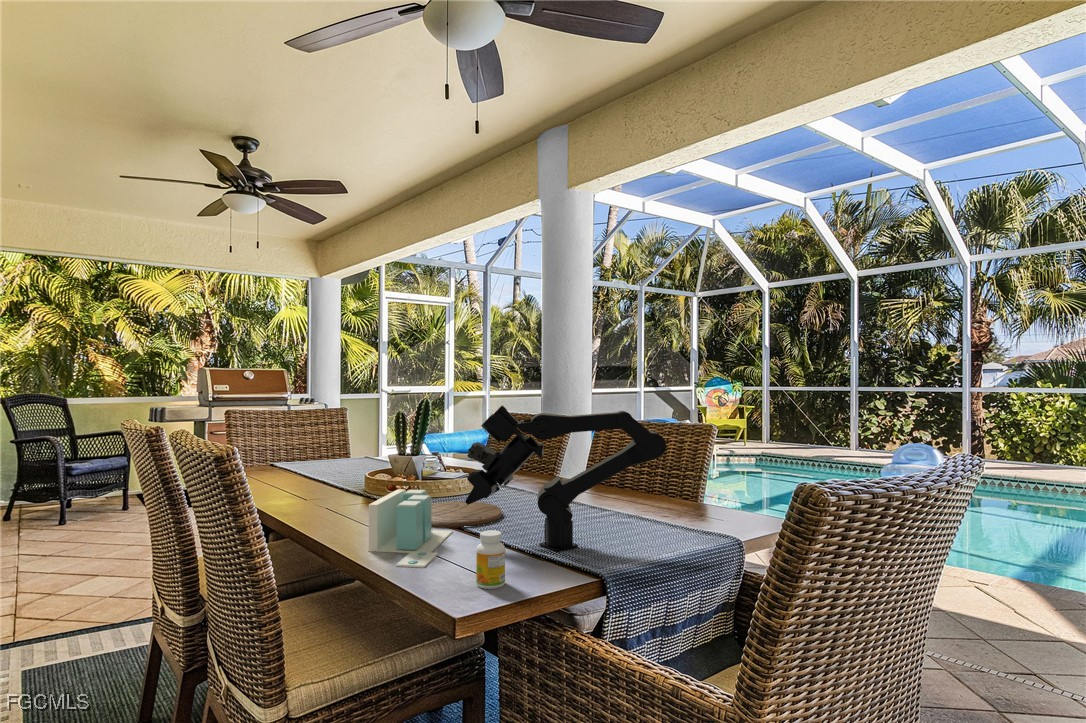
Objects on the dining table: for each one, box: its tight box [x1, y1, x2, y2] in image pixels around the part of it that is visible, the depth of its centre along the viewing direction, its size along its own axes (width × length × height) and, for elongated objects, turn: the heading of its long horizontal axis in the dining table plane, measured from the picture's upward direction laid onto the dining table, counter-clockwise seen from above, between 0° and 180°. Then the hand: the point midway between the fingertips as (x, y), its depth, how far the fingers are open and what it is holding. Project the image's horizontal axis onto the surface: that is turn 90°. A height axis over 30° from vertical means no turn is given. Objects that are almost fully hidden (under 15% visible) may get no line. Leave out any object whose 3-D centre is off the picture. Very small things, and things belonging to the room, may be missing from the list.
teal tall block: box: [396, 501, 423, 550], centre depth 143 cm, size 4×4×10 cm
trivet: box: [431, 501, 503, 529], centre depth 175 cm, size 25×25×2 cm
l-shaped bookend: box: [368, 488, 454, 554], centre depth 150 cm, size 14×18×10 cm
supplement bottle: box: [475, 529, 506, 590], centre depth 120 cm, size 5×5×10 cm
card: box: [395, 552, 439, 568], centre depth 135 cm, size 6×9×1 cm, turn 172°
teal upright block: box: [407, 494, 432, 542], centre depth 150 cm, size 4×4×10 cm
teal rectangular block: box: [403, 489, 428, 501], centre depth 157 cm, size 4×4×10 cm
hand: (467, 502), depth 148 cm, fingers closed
